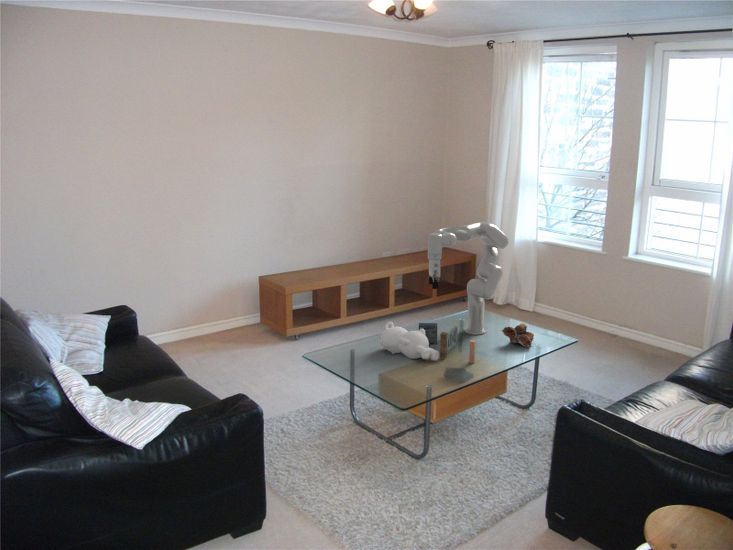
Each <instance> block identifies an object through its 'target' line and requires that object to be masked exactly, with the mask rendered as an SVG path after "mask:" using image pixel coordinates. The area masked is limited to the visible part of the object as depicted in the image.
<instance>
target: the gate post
mask: <svg viewBox="0 0 733 550" xmlns="http://www.w3.org/2000/svg"><path fill="white" fill-rule="evenodd" d="M439 335H440V336H439V338H440V339H439V340H440V341H439V359H440V360H446V359H447V358H448V353H447V348H448V344H447V341H448V338H449V337H448V332H447V331H441V333H440V334H439Z"/></svg>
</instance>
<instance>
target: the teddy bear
mask: <svg viewBox="0 0 733 550" xmlns="http://www.w3.org/2000/svg"><path fill="white" fill-rule="evenodd" d="M389 325H390V327H389ZM384 328H385V329H384V330H383V332H382V333H381V336H380V345H381V346H382V347H383V348H382V349H383V350H384V351H388V352H390V353H391V354H393V355H394V354H399V353H402V354H403V355H405V356H406V357H407V358H408V359H411V360H412V359H413V360H414V359H420V358H422V359H423V360H428V359H430V360H431V361H433V362H438V361H439V359H440V351H439V350H435V349H434V348H431V347H430V346H429V345H430V344H429V342H428V339H427V337H426V336H425V330H424V329H420V330H419V329H418V330H410V331H408V330H407V329H406V328H404V327H400V326H394V323H393V321H387V322H386V323H385V326H384Z"/></svg>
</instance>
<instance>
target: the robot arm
mask: <svg viewBox="0 0 733 550" xmlns="http://www.w3.org/2000/svg"><path fill="white" fill-rule="evenodd" d="M478 238H481V241H482V244H483V247H484V248H483V249H484V253H483V256H482V257H481V261H480V262H479V265H478V266H477V269H476V275H477V276H478V277H479V278H480V279H478V278H472V279H470V280H469V281H468V282H467V284H466V292H467V316H466V317H467V321H466V323H467V324H466V327H464V333H466V334H468V335H474V336H475V335H476V336H477V335H484V334H486V332H487V329H486V328H485V327H484V324H485V323H484V322H485V307H486V306H485V305H486V304H485V303H486V302H485V300H490V299H493V298H494V296H495V294H496V292H497V289H498V287H499V285H500V284H501V281H502V278H503V275H504V271H503V268H502V267H501V266H499V265H497V262H498V259H499V250H504V249H506V248H507V247H508V245H509V238H508V236H507V235H506V234H505V233H504V232H503V231H502V230H501V229H500V228H499V227H498V226H497V225H494V224H493V223H488V222H485V221H478V222H475V223H470V224H467V225H459V226H449V227H444V228H440V229H437V230H435V231H434V232H431V233H429V234H428V240H427V260H428V274H429V275H428V276H429V277H428V284H429V285H431V288H432V290H439V279H440V278H441V260H442V254H443V253H442V252H443V247H452V246H454V245H455V244H456V243H457V241H460V242H468V241H471V240H475V239H478ZM484 280H486V281H484Z"/></svg>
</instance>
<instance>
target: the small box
mask: <svg viewBox="0 0 733 550" xmlns="http://www.w3.org/2000/svg"><path fill="white" fill-rule="evenodd" d="M420 329H424V330H425V336H426V337H427V339H428V342H429V345H437V344H438V322H434V323H433V322H418V331H419V330H420Z"/></svg>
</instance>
